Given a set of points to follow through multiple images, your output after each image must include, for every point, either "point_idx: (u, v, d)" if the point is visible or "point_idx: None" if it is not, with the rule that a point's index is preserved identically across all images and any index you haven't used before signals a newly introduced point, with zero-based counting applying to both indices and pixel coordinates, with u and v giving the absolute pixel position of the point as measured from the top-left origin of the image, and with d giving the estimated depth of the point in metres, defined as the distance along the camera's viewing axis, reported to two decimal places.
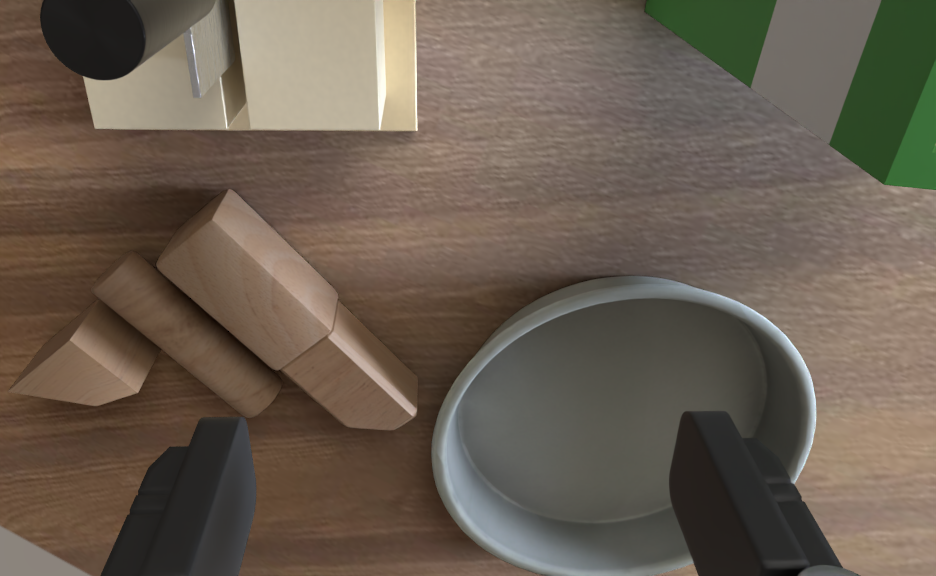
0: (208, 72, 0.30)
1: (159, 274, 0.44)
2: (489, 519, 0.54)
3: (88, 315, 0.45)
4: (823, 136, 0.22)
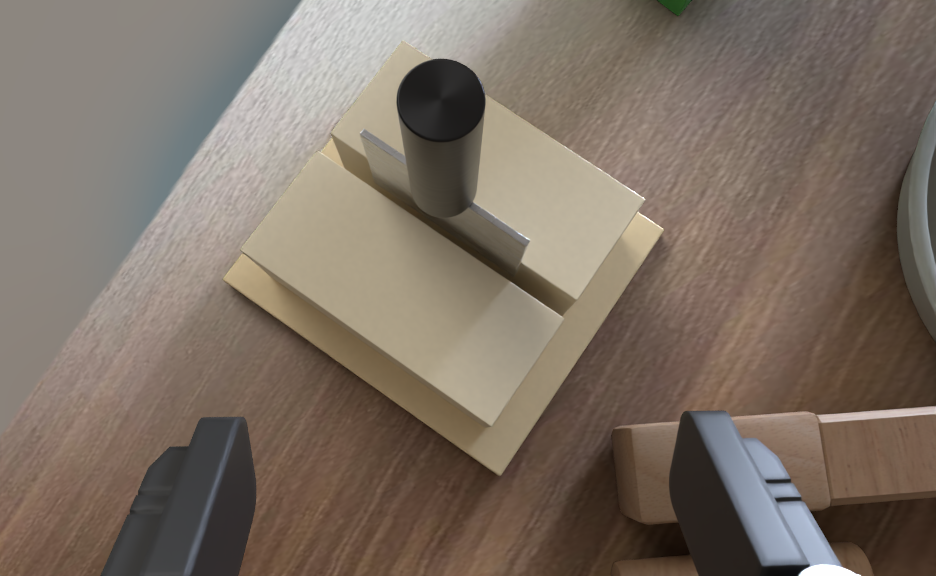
0: None
1: (652, 558, 0.38)
2: None
3: None
4: None
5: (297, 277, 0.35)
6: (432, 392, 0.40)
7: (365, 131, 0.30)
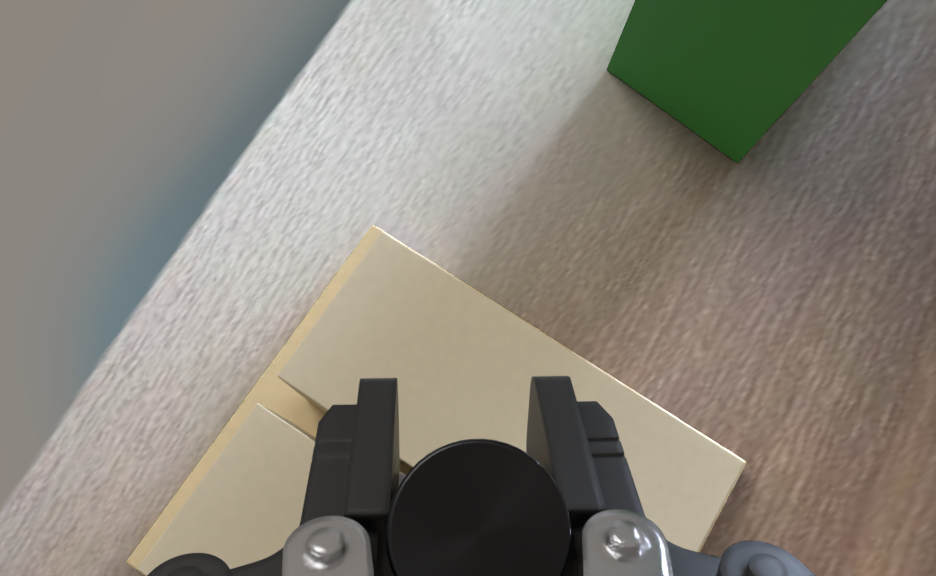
0: None
1: None
2: None
3: None
4: None
5: None
6: None
7: None
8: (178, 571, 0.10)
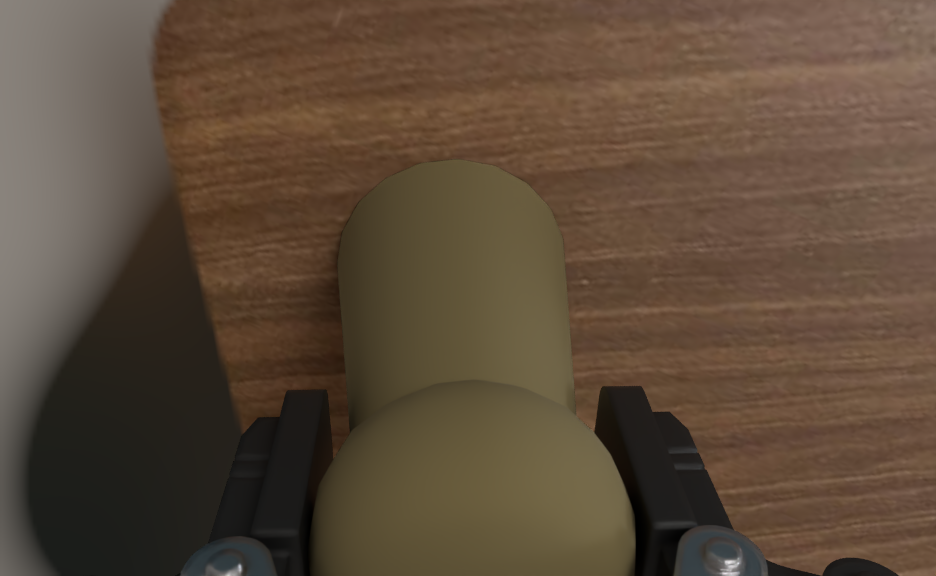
0: None
1: None
2: None
3: None
4: None
5: None
6: None
7: None
8: None
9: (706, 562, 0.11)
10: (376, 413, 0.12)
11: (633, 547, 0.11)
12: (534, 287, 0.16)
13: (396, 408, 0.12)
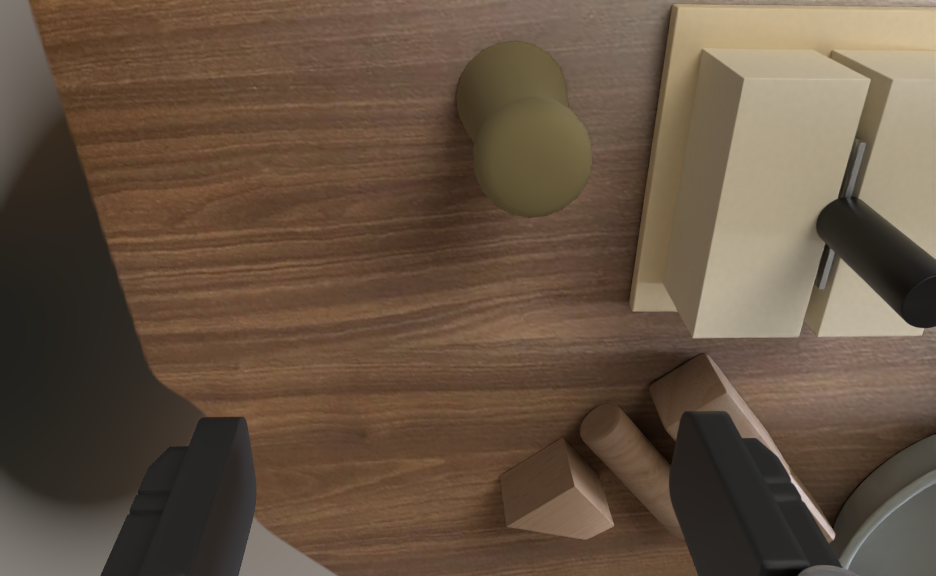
0: None
1: (634, 424, 0.51)
2: None
3: (567, 458, 0.52)
4: None
5: (742, 141, 0.36)
6: (669, 234, 0.45)
7: (864, 145, 0.36)
8: None
9: None
10: (498, 108, 0.33)
11: (590, 149, 0.32)
12: (553, 85, 0.37)
13: (506, 104, 0.33)
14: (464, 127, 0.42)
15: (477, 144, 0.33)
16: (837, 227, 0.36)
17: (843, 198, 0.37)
